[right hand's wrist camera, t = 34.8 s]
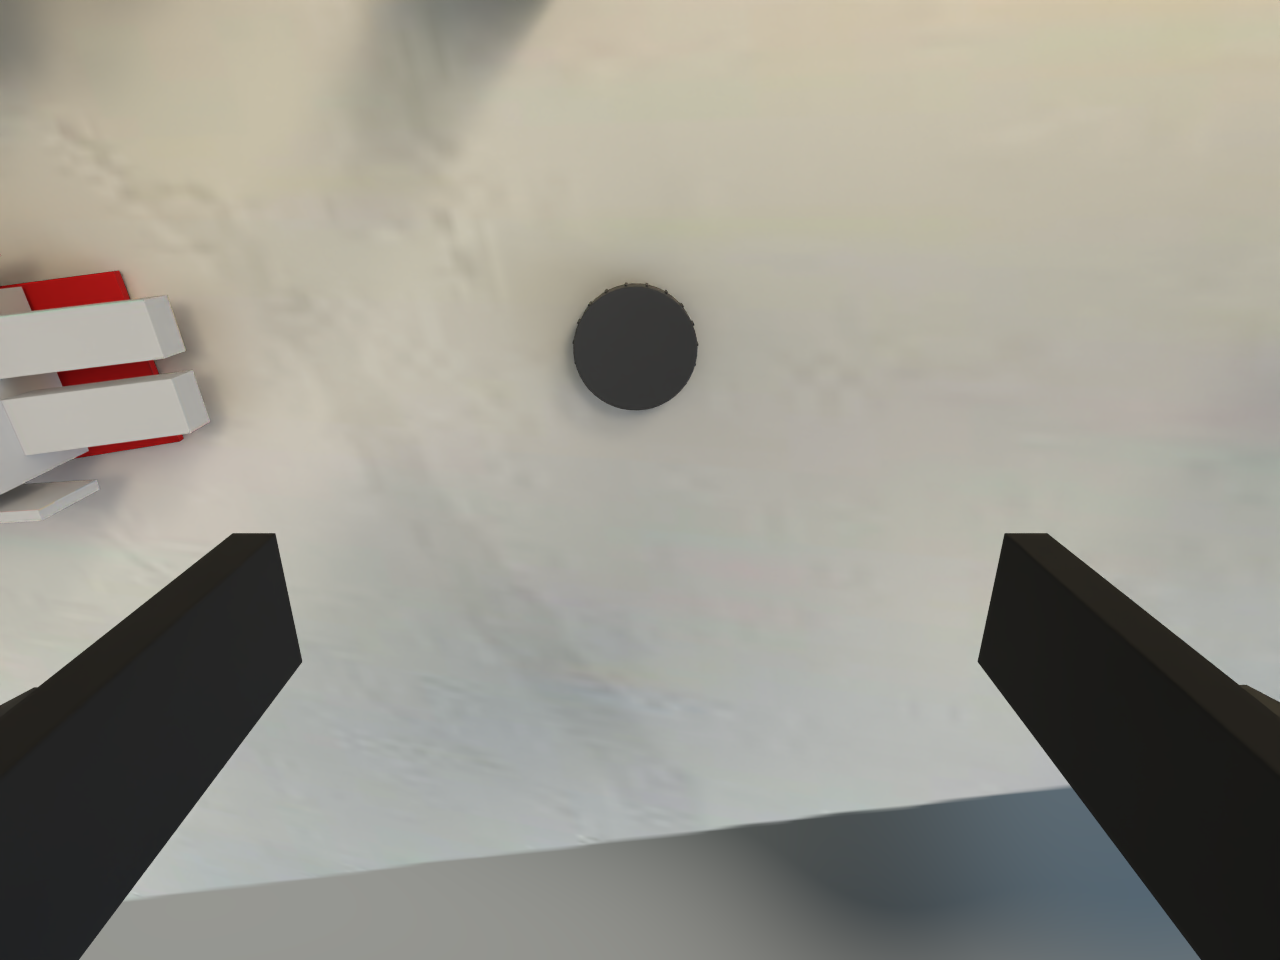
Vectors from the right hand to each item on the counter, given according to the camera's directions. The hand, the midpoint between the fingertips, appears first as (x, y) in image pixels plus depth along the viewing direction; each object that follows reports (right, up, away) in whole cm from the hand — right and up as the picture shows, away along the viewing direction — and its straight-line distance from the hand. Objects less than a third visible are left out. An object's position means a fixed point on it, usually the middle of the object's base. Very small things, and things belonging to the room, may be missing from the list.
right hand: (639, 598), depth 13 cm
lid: (0, +9, +23) cm, 25 cm away
